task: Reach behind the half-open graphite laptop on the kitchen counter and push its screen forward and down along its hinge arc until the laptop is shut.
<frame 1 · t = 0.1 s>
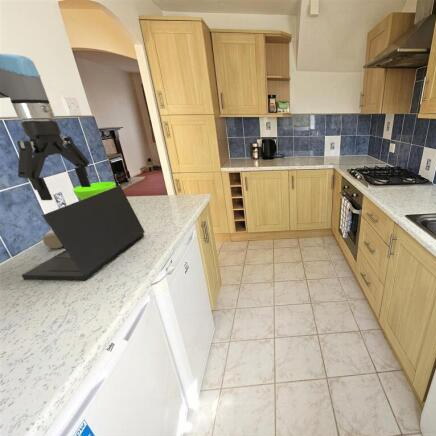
hand: (68, 193, 77), 25 cm above the countertop, tool pointing down, fingers open, 13 cm apart
laptop screen: (103, 225, 85), point 12 cm above the countertop, hinge at 78.0°
laptop: (92, 254, 90), on the countertop
ceramic mug: (67, 244, 99), on the countertop
wineglass: (107, 222, 119), on the countertop
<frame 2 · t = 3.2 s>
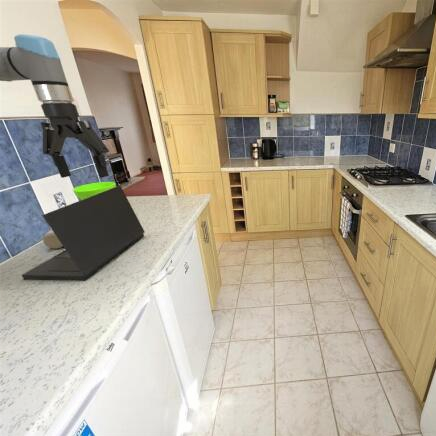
hand: (85, 176, 77), 30 cm above the countertop, tool pointing down, fingers open, 13 cm apart
nothing on the countertop moved.
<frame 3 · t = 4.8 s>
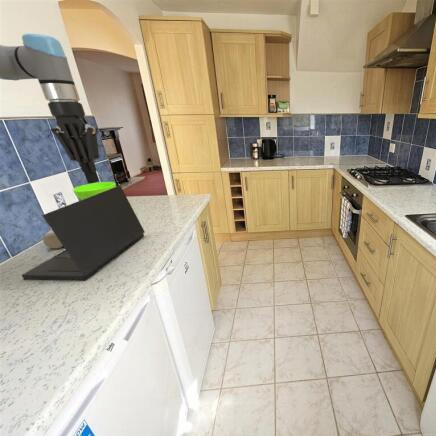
hand: (93, 182, 79), 28 cm above the countertop, tool pointing down, fingers closed
nothing on the countertop moved.
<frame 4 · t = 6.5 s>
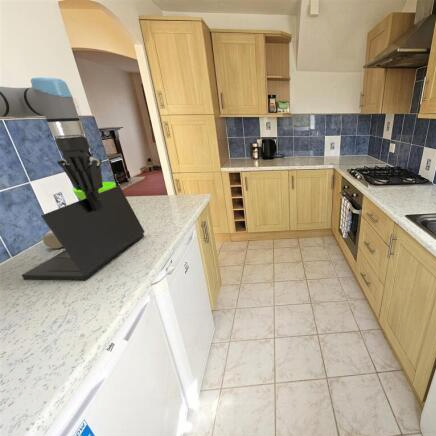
hand: (97, 209, 83), 18 cm above the countertop, tool pointing down, fingers closed
laptop screen: (103, 225, 85), point 12 cm above the countertop, hinge at 76.9°, touching gripper
everything else where it was.
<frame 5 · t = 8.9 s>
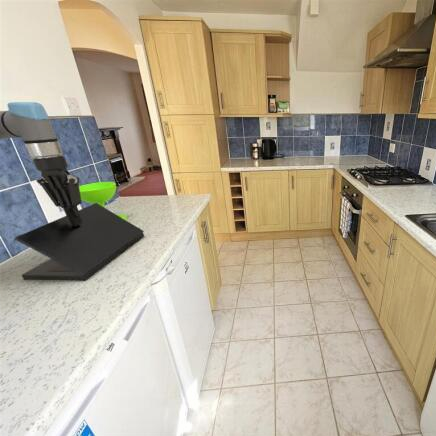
hand: (77, 224, 85), 13 cm above the countertop, tool pointing down, fingers closed
laptop screen: (90, 234, 87), point 9 cm above the countertop, hinge at 37.5°, touching gripper
everything else where it was.
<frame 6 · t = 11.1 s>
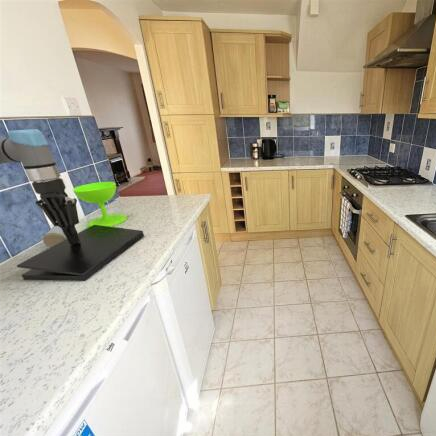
hand: (75, 242, 89), 5 cm above the countertop, tool pointing down, fingers closed
laptop screen: (89, 246, 89), point 4 cm above the countertop, hinge at 7.8°, touching gripper
everything else where it was.
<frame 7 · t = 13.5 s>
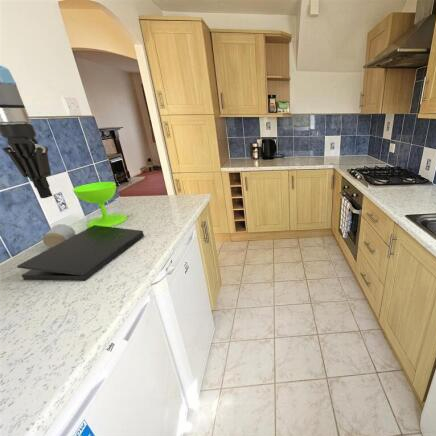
hand: (46, 196, 83), 22 cm above the countertop, tool pointing down, fingers closed
laptop screen: (89, 246, 89), point 4 cm above the countertop, hinge at 7.1°
everything else where it was.
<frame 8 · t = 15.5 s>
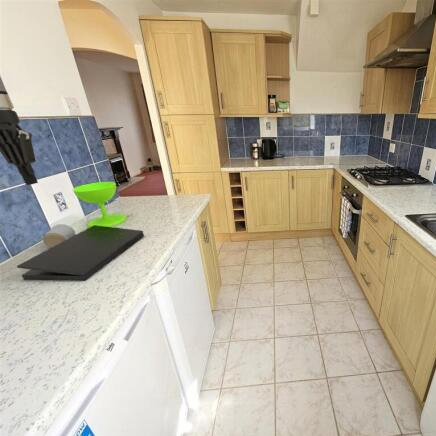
hand: (32, 183, 85), 26 cm above the countertop, tool pointing down, fingers closed
nothing on the countertop moved.
at the end: laptop screen at +7° (first picture: +78°) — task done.
